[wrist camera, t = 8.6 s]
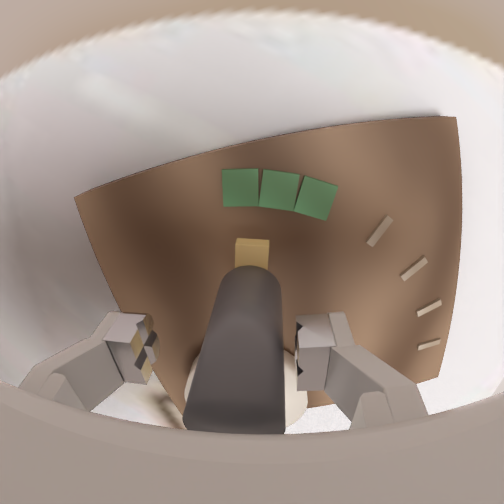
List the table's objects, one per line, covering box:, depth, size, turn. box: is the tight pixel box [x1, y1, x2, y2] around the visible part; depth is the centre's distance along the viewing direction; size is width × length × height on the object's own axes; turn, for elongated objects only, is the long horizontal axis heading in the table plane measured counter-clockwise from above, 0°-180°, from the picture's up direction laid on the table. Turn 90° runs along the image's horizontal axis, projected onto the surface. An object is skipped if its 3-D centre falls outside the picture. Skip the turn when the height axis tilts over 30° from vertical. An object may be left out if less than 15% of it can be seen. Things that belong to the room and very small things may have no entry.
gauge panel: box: [74, 116, 462, 416], centre depth 16 cm, size 19×17×2 cm
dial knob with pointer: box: [183, 238, 308, 434], centre depth 12 cm, size 14×7×8 cm, turn 178°
